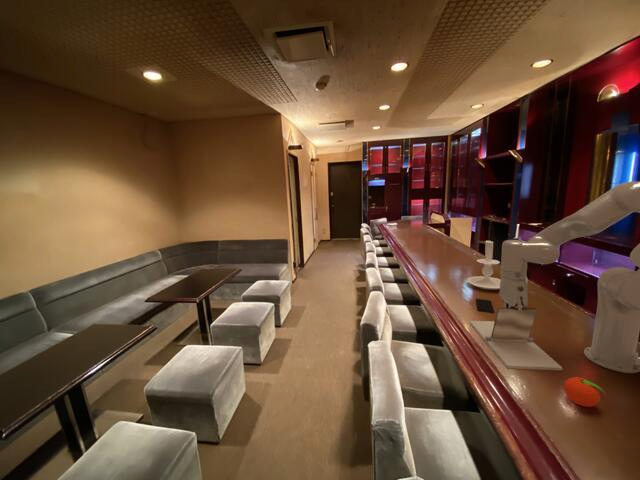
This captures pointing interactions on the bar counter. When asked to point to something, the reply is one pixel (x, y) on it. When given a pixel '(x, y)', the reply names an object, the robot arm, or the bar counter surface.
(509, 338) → the flip plaque
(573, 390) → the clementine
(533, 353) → the plaque base
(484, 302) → the smartphone
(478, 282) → the candlestick
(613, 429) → the bar counter surface
